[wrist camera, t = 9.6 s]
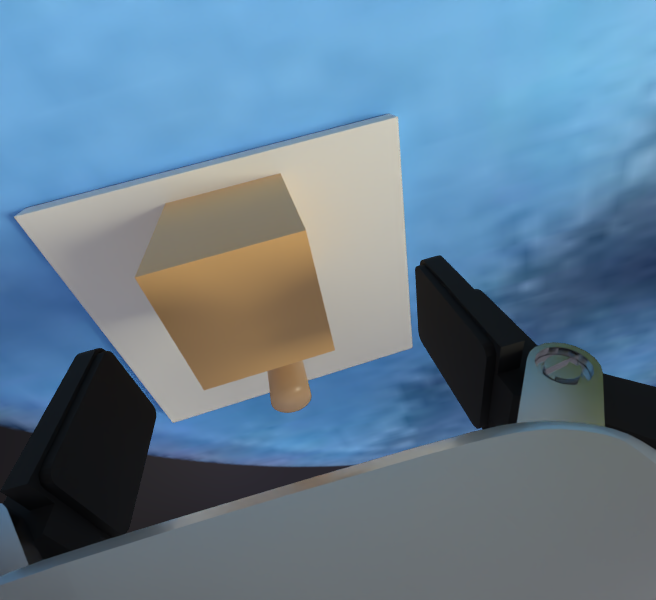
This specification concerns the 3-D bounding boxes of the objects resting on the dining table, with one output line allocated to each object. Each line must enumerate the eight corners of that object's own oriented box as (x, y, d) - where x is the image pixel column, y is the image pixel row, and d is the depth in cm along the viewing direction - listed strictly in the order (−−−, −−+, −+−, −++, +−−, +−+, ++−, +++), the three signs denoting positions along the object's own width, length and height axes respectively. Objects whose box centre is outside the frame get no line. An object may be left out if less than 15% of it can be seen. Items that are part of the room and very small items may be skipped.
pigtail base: (389, 113, 16) (443, 133, 12) (406, 338, 24) (441, 394, 20) (25, 208, 15) (-51, 265, 11) (175, 410, 23) (163, 485, 19)
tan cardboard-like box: (280, 173, 15) (306, 229, 10) (305, 269, 18) (335, 350, 13) (165, 203, 15) (134, 277, 10) (210, 297, 18) (204, 390, 13)
